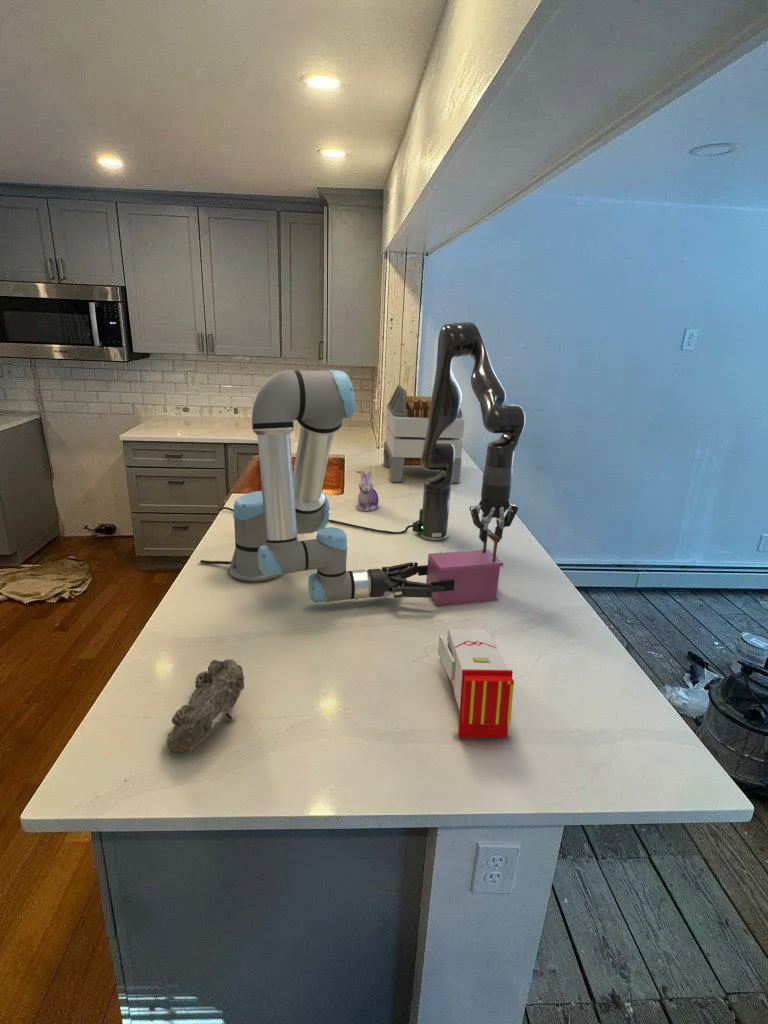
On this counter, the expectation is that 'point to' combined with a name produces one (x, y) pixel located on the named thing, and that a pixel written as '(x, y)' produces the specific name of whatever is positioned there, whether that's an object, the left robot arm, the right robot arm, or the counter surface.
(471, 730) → the toy
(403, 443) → the grey slatted box
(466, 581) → the chest
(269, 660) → the counter surface
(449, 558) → the lid
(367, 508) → the figurine
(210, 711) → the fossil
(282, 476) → the left robot arm
